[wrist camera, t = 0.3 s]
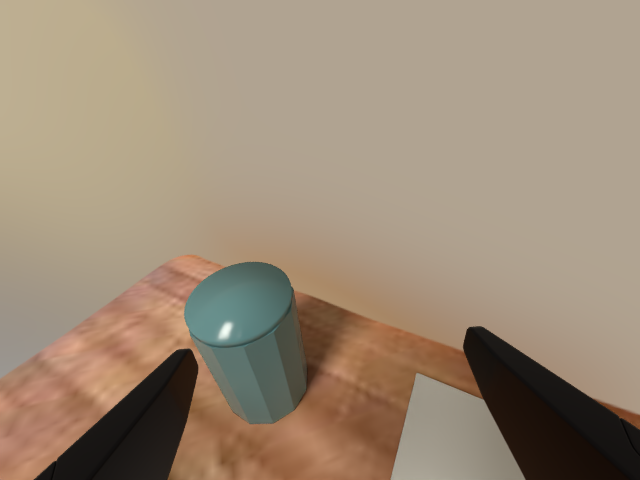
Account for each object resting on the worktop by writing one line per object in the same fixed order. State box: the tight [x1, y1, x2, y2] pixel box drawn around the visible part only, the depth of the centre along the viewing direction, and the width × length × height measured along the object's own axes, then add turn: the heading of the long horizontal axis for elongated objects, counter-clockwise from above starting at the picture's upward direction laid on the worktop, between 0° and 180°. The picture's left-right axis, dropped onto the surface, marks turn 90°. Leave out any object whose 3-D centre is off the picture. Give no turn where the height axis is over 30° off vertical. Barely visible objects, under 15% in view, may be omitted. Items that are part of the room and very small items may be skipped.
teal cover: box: [184, 262, 307, 424], centre depth 22 cm, size 7×7×11 cm
